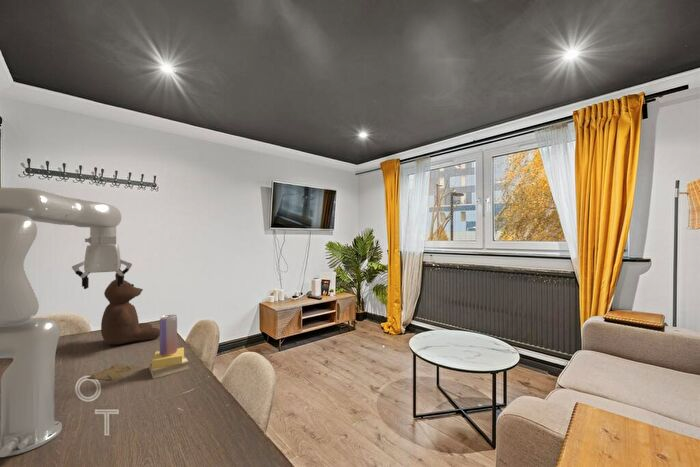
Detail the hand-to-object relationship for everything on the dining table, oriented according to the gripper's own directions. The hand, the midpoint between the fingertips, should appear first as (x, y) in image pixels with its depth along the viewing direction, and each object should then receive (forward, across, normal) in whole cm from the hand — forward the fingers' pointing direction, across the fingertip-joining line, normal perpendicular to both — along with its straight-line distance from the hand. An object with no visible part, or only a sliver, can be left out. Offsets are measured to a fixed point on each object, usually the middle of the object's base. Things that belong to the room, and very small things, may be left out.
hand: (103, 287), depth 110 cm
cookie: (+35, +3, +5) cm, 35 cm away
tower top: (+31, +21, -2) cm, 38 cm away
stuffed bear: (+34, +4, +46) cm, 58 cm away
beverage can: (+28, +21, -2) cm, 35 cm away
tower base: (+34, +21, -2) cm, 40 cm away
